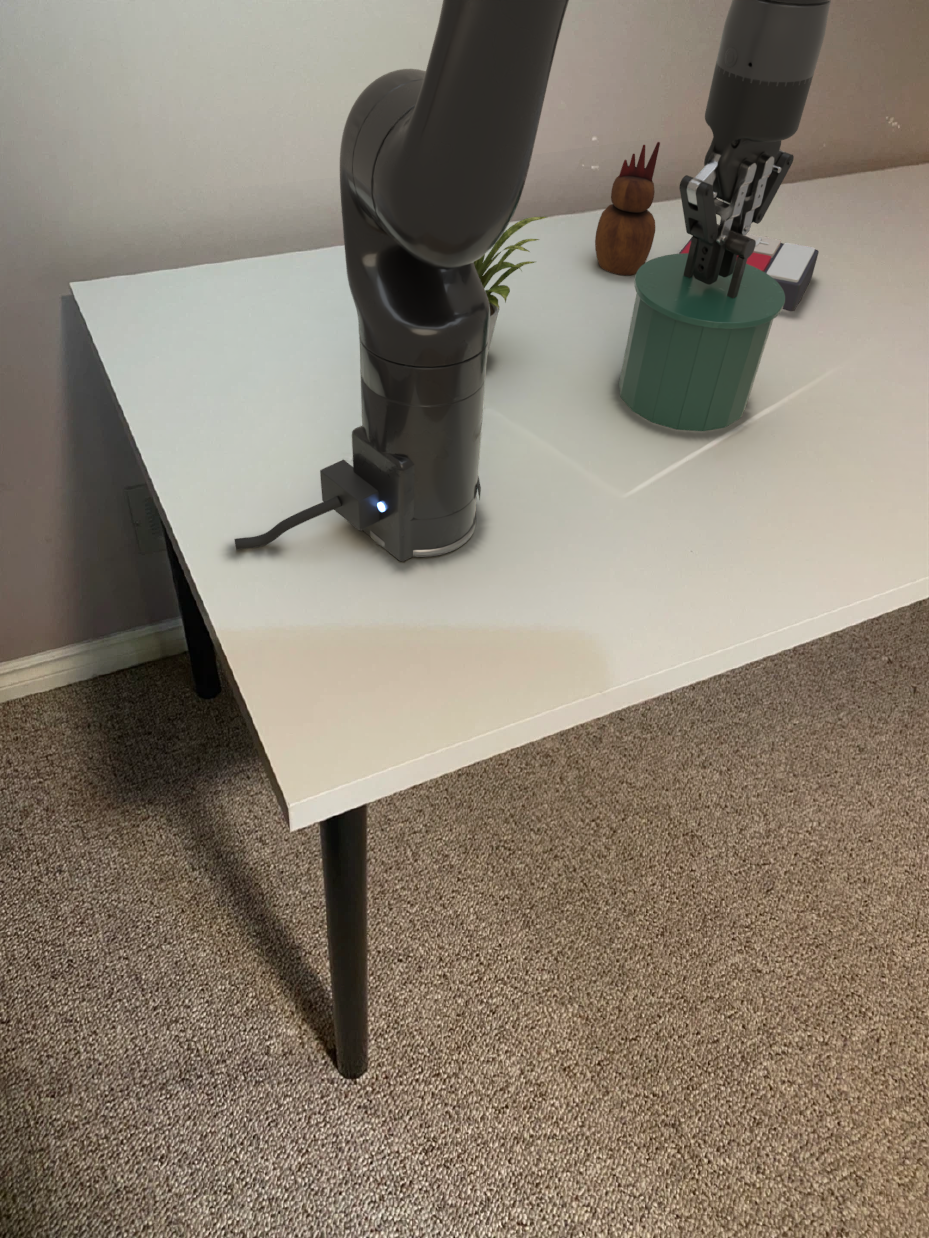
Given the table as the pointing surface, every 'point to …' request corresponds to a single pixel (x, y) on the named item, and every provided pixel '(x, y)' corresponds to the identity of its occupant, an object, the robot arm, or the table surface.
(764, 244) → the calculator
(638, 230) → the wooden figurine
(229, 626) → the table surface
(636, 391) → the tin
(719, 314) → the lid
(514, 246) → the house plant
